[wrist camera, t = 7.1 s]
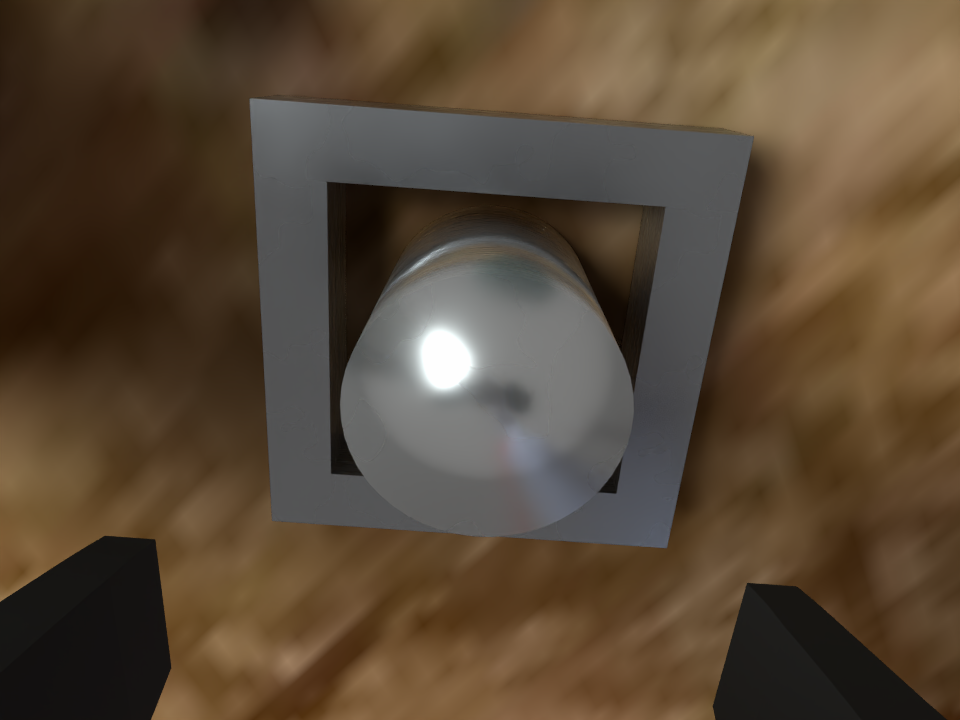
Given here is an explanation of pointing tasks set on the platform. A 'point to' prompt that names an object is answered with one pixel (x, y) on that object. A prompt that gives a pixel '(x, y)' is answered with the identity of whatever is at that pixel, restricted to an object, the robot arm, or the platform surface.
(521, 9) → the platform surface
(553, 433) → the shiny metal cylinder
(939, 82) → the platform surface
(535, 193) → the grey rectangular frame
